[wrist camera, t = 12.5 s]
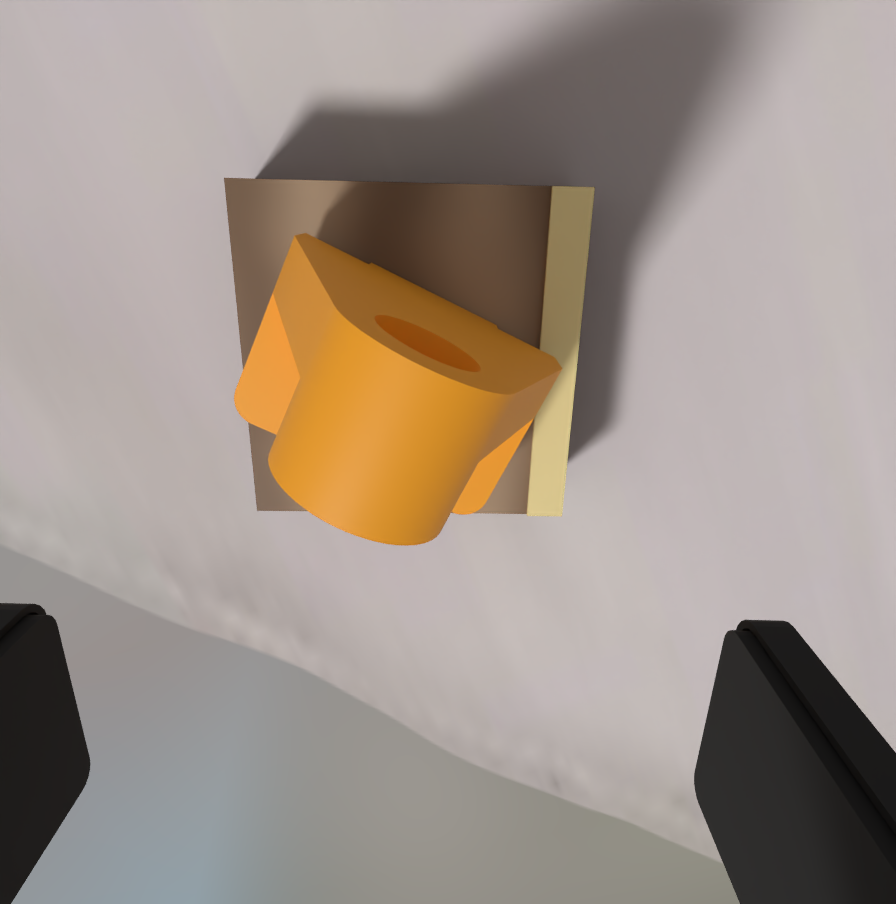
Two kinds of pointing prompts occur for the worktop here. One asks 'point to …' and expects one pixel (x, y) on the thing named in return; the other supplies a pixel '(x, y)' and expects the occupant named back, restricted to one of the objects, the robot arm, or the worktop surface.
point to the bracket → (385, 396)
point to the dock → (436, 285)
